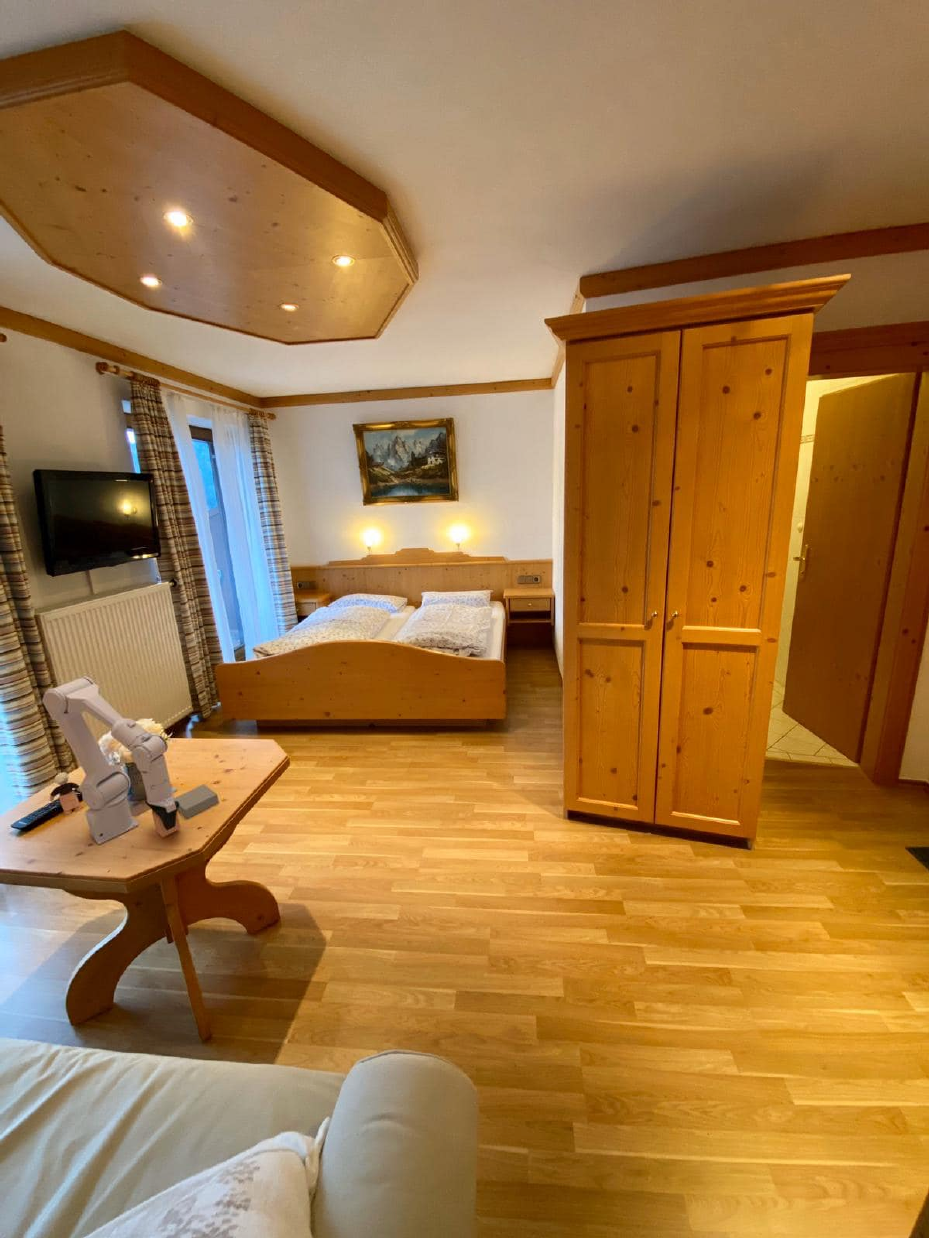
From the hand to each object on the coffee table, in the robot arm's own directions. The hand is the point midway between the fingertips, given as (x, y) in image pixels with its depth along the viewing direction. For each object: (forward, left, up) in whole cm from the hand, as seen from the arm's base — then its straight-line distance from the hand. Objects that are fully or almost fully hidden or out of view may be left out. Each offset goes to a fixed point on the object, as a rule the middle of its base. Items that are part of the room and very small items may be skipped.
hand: (167, 824), depth 129 cm
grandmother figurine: (-14, +37, -3) cm, 40 cm away
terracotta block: (0, 0, -2) cm, 2 cm away
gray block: (+10, +7, -3) cm, 12 cm away
